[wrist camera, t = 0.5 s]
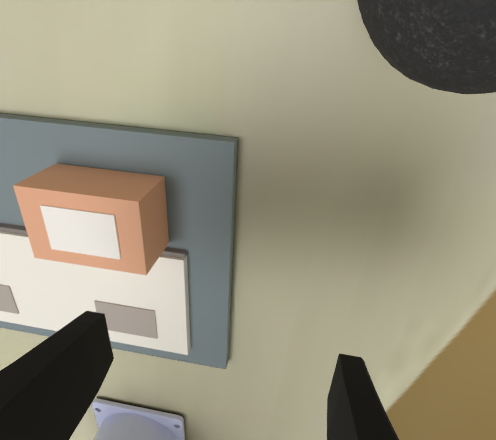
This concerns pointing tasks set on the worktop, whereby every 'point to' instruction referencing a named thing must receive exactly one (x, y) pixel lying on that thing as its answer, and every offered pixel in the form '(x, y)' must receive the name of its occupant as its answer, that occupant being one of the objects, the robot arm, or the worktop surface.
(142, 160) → the mat
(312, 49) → the worktop surface
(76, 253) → the stub
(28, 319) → the ticket
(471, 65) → the light bulb
